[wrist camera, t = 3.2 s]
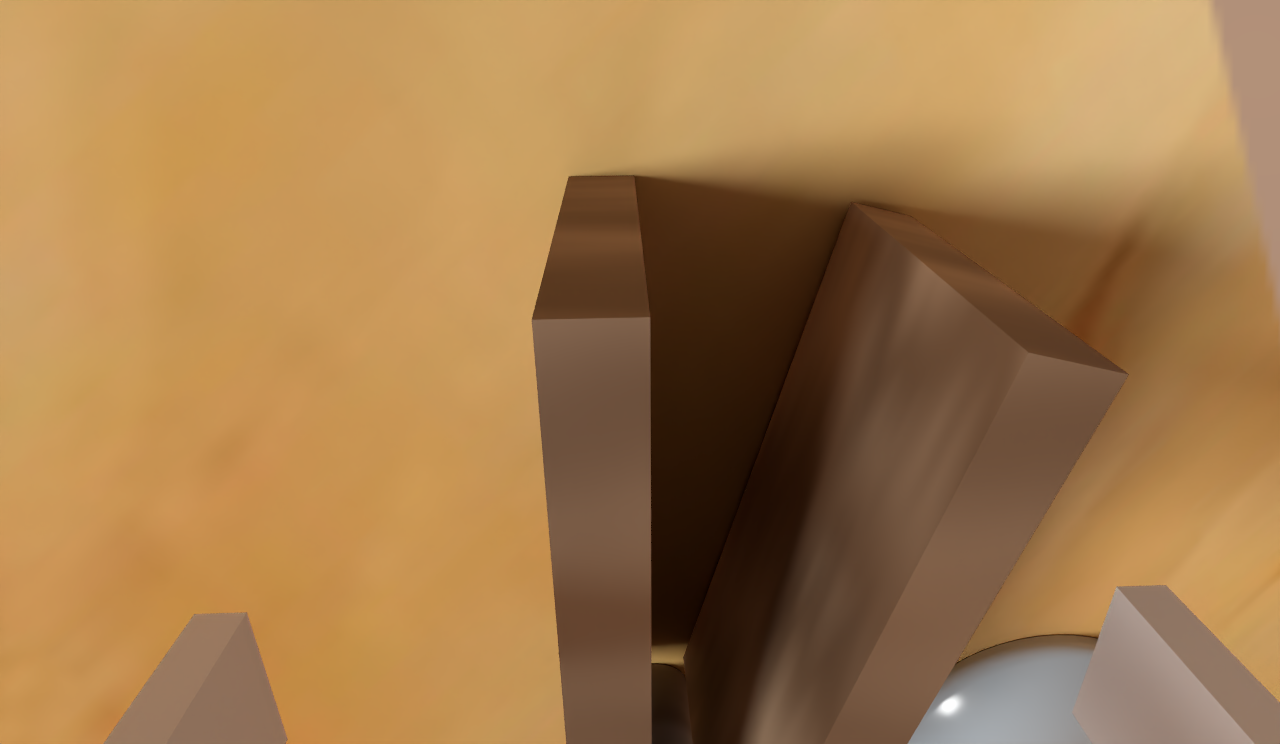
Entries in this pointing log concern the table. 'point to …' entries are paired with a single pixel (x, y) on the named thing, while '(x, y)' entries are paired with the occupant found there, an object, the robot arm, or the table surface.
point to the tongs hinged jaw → (887, 493)
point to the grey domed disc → (1012, 695)
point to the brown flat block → (602, 469)
